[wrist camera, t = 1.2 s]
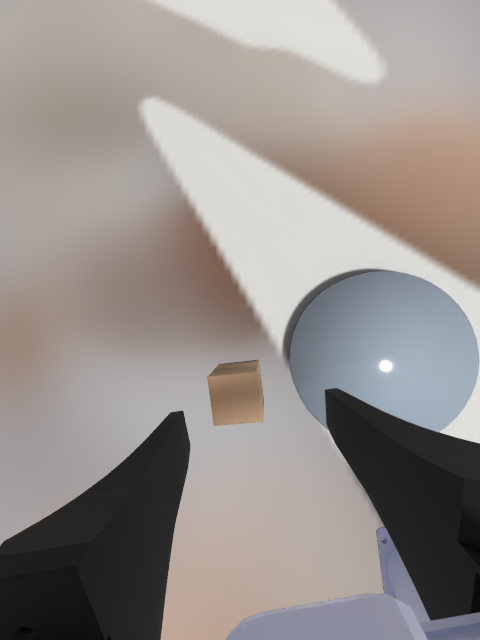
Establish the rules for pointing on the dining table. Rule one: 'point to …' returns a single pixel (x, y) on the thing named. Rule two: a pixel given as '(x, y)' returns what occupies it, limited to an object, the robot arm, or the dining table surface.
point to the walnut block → (236, 393)
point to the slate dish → (386, 348)
